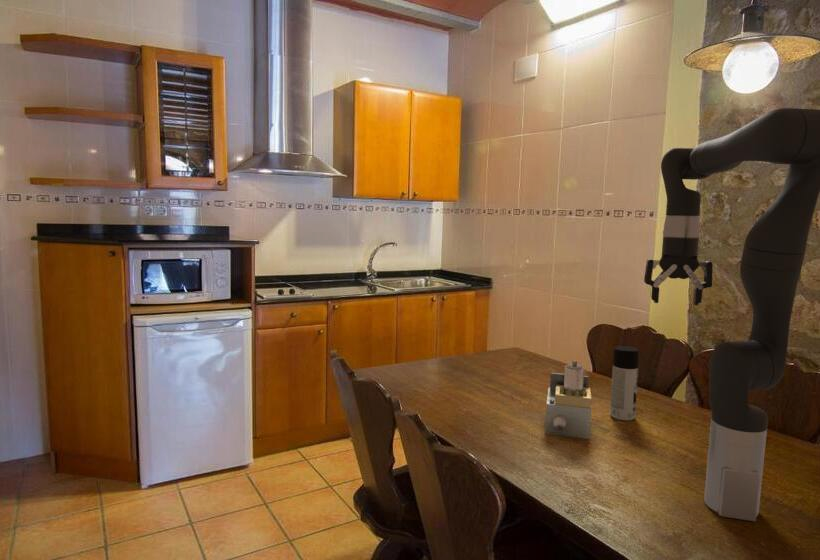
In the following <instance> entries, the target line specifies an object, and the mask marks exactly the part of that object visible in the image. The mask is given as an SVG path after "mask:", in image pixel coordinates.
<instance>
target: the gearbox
mask: <svg viewBox="0 0 820 560" xmlns="http://www.w3.org/2000/svg"><path fill="white" fill-rule="evenodd" d="M564 376H565V373H560V372H559V373H558V372H550V382H549V383H550V384H549V385H550V386H549V387H548V389H547V398H546V407H545V408H546V410H545V427H544V429H545V430H544V431H545V432H544V434H545V435H546V434H547V435H552V436H553V435H554V436H561V437H562V436H563V437H571V438H577V439H587V440H590V437H591V436H590V435H591V420H592V419H591V418H592V417H591V416H592V394H591V388H590V387H589V382H590V381H589V379H590V378H589V377H590V375H584V378H583V396H574V395H564Z"/></svg>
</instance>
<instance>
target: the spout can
mask: <svg viewBox="0 0 820 560" xmlns="http://www.w3.org/2000/svg"><path fill="white" fill-rule="evenodd" d="M584 373H585V367H583V366H582V365H581V364H578V361H577V360H572V363H569V364H566V365H565V366H564V374H565V376H564V395H574V396H583V378H584V376H585V375H584Z"/></svg>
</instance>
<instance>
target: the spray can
mask: <svg viewBox="0 0 820 560" xmlns="http://www.w3.org/2000/svg"><path fill="white" fill-rule="evenodd" d="M639 359H640V350H639V349H638V348H637V347H634V346H626V345H617V346H614V348H613V359H612V372H611V373H612V375H611V389H610V390H611V391H610V392H611V394H610V410H609V412H610V413H609V414H610V416H611V418H614V419H615V420H620V421H623V422H624V421H626V422H627V421H628V422H630V421H633V420H635V417H636V409H637V393H638V378H639Z"/></svg>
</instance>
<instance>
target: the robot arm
mask: <svg viewBox="0 0 820 560" xmlns="http://www.w3.org/2000/svg"><path fill="white" fill-rule="evenodd" d="M743 162H764V163H766V162H767V163H770V164H775V165H776V164H778V165H789V166H788V170H787V174H786V176H785V180H784V184H783V186H782V189H781V190H780V193H779V194H778V195H777V197H776V198H775V200H774V201H773V202H772V204H771V205H770V206H769V207H768V208H767V209H766V210H765V212H764V213H763V214H762V215H761V216H760V217H759V218H758V219H757V221H756V222H755V223H754V225H753V226H752V227H751V228H750V230H749V231H748V233H747V235H746V237H745V239H744V244H743V250H742V253H741V259H740V264H739V273H740V274H739V275H740V280H741V282H742V286H743V288H744V291H745V292H746V295H747V297H748V299H749V300H748V301H749V302H750V305H751V309H752V323H751V329H750V335H749V338H748V340H741V341H724V342H721V343H718V344H717V345H716V346H715V347H714V348H713V351H712V353H711V357H710V361H709V380H708V383H709V385H708V400H709V406H710V409H711V417H710V418H711V419H710V429H709V439H708V450H707V451H708V452H707V463H706V471H705V472H706V473H705V485H704V498H703V501H704V504H705V505H706V506H707V507H708V508H709V509H711V510H712V511H713V512H715V513H717V514H718V516H720V517H724V518H730V519H731V518H732V519H737V520H743V521H750V522H757V517H759V515H760V514H759V511H760V502H761V493H762V483H763V474H764V472H763V470H764V463H765V453H766V452H765V451H766V443H767V442H766V441H767V434H768V425H769V416H768V413H767V412H766V411H765V410H763V409H761V408H760V407H757V406H755V405H752V404H750V391H758V390H768V389H769V390H770V389H771V388H775V386H777V385H778V384H779V383H780V382H781V381H782V379H783V376H784V373H785V370H786V365H787V356H788V346H789V345H788V344H789V333H790V325H791V318H792V313H793V309H794V303H795V297H796V292H797V286H798V283H799V279H800V276H801V272H802V267H803V263H804V259H805V254H806V249H807V244H808V238H809V235H810V234H809V233H810V230H811V229H810V228H811V225H812V221H813V218H814V213H815V210H816V206H817V201H818V198H819V196H820V109H816V108H815V109H814V108H795V107H782V108H777V109H774V110H773V109H772V110H770V111H768V112H767V113H764V114H762V115H761V116H759V117H756V118H755V119H753V120H752V121H750V122H749V123H747V124H746V125H743V126H742V127H740V128H738V129H736V130H735V131H733V132H731V133H728V134H726V135H722V136H720V137H718V138H713V139H710V140H707V141H705V142H702V143H700V144H698V145H696V146H695V147H694V148H691V147H690V148H689V147H688V148H687V147H673V148H669V149H668V150H667V151H666V152H665V153H664V155H663V157H662V159H661V162H660V163H661V164H660V171H661V175H662V179H663V183H664V189H665V195H666V209H665V219H664V223H663V230H662V244H661V245H662V246H661V248H662V249H661V257H660V259H659V260H657V259H651V258H647V260H646V261H645V262H646V264H645V269H644V278H643V282H644V283H645V284H646V285H649V286H651V295H650V297H651V300H652V301H653V303H655V304H659V300H660V299H659V297H660V285H661V284H662V283H663V282H665V281H666V280H667V278H670V279H681V280H686V279H688V280H689V281H690V282H691V283H692V285H693V286H694V287H695V288H694V289H693V296H692V305H693V306H698V305H699V304H701V303H702V298H703V290H705V289H707V288H712V287H713V267H714V265H713V262H712V261H709V260H705V261H699V260H698V253H699V243H700V242H699V241H700V232H701V230H700V228H701V225H700V224H701V223H700V213H701V212H700V211H701V201H702V195H701V193H700V191H697V190H694V189H690V188H687V186H686V184H684V180H704V179H707V178H709V177H710V176H712V175H715V174H719V173H723V172H727V171H731V170H734V169H735V168H737V167H739V165H741V164H742V163H743ZM657 266H659V267H660V269H661V270H662V271H661V272H660V273H659V274H658V275H657V277H656V278H655V279H654V280H652V277H653V270H655V269H656V268H657ZM699 268H700V269H701V271H703V282H701V281H700V279H699V278H698V277H697V275H696V274H695V273H694V272H695V271H696V270H697V269H699Z"/></svg>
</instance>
